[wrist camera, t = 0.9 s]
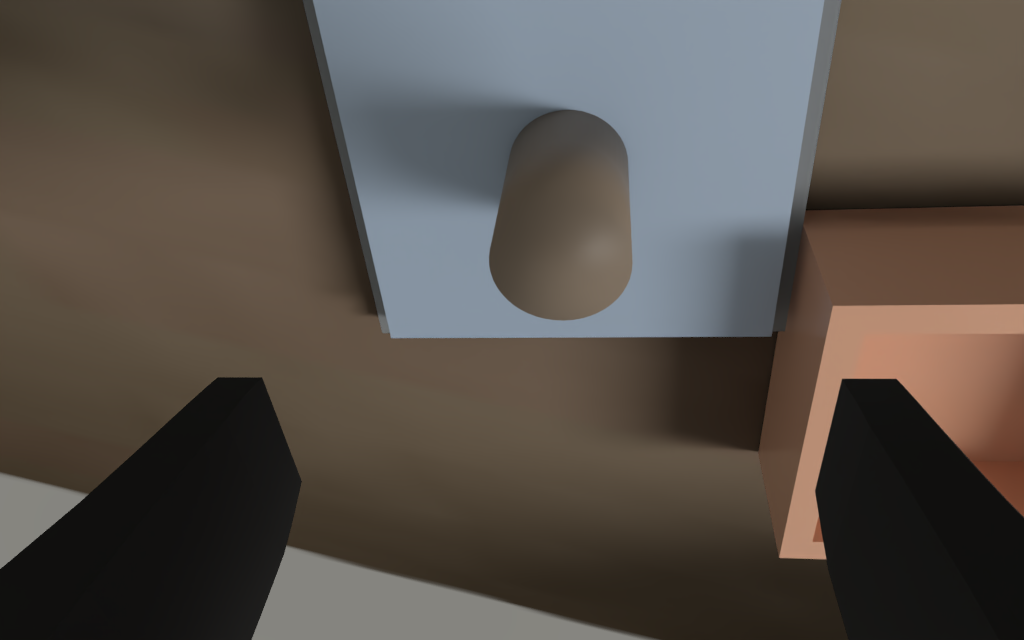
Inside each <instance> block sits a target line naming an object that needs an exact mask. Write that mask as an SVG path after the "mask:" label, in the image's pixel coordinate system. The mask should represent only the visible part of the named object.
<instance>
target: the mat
mask: <svg viewBox="0 0 1024 640" xmlns="http://www.w3.org/2000/svg"><path fill="white" fill-rule="evenodd" d="M303 4H304V8H305V12H306V17H307V21H308V25H309V29H310V33H311V37H312V42H313V46H314V50H315V54H316V58H317V62H318V67H319V71H320V75H321V79H322V83H323V87H324V92H325V96H326V100H327V104H328V108H329V112H330V117H331V121H332V125H333V129H334V133H335V137H336V142H337V146H338V150H339V154H340V158H341V162H342V167H343V171H344V175H345V179H346V183H347V187H348V192H349V196H350V200H351V204H352V208H353V212H354V217H355V221H356V225H357V229H358V233H359V238H360V242H361V246H362V250H363V254H364V258H365V263H366V267H367V271H368V275H369V279H370V283H371V288H372V292H373V296H374V300H375V304H376V308H377V313H378V317H379V321H380V325H381V329H382V333H390V331H389V326H388V322H387V318H386V313H385V309H384V305H383V300H382V296H381V292H380V288H379V283H378V279H377V275H376V270H375V266H374V262H373V257H372V253H371V249H370V244H369V240H368V236H367V232H366V227H365V223H364V219H363V214H362V210H361V206H360V201H359V197H358V193H357V188H356V184H355V180H354V176H353V171H352V167H351V163H350V158H349V154H348V150H347V145H346V141H345V137H344V132H343V128H342V124H341V119H340V115H339V111H338V107H337V102H336V98H335V94H334V89H333V85H332V81H331V76H330V72H329V68H328V63H327V59H326V55H325V51H324V46H323V42H322V38H321V33H320V29H319V25H318V20H317V16H316V12H315V7H314V3H313V0H303ZM840 6H841V0H824V6H823V13H822V19H821V25H820V32H819V38H818V44H817V51H816V57H815V63H814V70H813V76H812V82H811V89H810V95H809V102H808V108H807V114H806V121H805V127H804V133H803V140H802V146H801V152H800V159H799V165H798V171H797V178H796V184H795V190H794V197H793V203H792V209H791V216H790V222H789V229H788V235H787V241H786V248H785V254H784V260H783V267H782V273H781V279H780V286H779V292H778V298H777V305H776V311H775V317H774V324H773V330H772V331H785V328H786V322H787V317H788V311H789V305H790V299H791V293H792V287H793V281H794V276H795V270H796V264H797V258H798V252H799V246H800V240H801V234H802V229H803V223H804V217H805V211H806V205H807V199H808V193H809V188H810V182H811V176H812V170H813V164H814V158H815V152H816V146H817V141H818V135H819V129H820V123H821V117H822V111H823V105H824V99H825V94H826V88H827V82H828V76H829V70H830V64H831V58H832V53H833V47H834V41H835V35H836V29H837V23H838V17H839V11H840Z"/></svg>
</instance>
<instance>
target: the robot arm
mask: <svg viewBox="0 0 1024 640" xmlns="http://www.w3.org/2000/svg"><path fill="white" fill-rule="evenodd" d="M301 482H302V481H301V478H300V476H299V473H298V471H297V468H296V465H295V463H294V460H293V457H292V455H291V452H290V450H289V447H288V444H287V442H286V439H285V437H284V434H283V431H282V429H281V426H280V423H279V421H278V418H277V416H276V413H275V410H274V408H273V405H272V402H271V400H270V397H269V395H268V392H267V389H266V387H265V384H264V381H263V379H262V378H217V379H216V380H214V381H213V382H212V383H211V384H210V385H209V386H207V387H206V388H205V389H204V390H203V391H202V392H200V393H199V394H198V395H197V396H196V397H195V398H194V399H193V400H192V401H190V402H189V403H188V404H187V405H186V406H185V407H184V408H183V409H182V410H181V411H180V412H178V413H177V414H176V415H175V416H174V417H173V418H172V419H171V420H170V421H169V422H168V423H167V424H165V425H164V426H163V427H162V428H161V429H160V430H159V431H158V432H157V433H156V434H155V435H154V436H152V437H151V438H150V439H149V440H148V441H147V442H146V443H145V444H144V445H143V446H142V447H141V448H139V449H138V450H137V451H136V452H135V453H134V454H133V455H132V456H131V457H130V458H128V459H127V460H126V461H125V462H124V463H123V464H122V465H121V466H120V467H119V468H117V469H116V470H115V471H114V472H113V473H112V474H111V475H110V476H109V477H107V478H106V479H105V480H104V481H103V482H102V483H101V484H100V485H99V486H98V487H96V488H95V489H94V490H93V491H92V492H91V493H90V494H89V495H88V496H86V497H85V498H84V499H83V500H82V501H81V502H80V503H79V504H77V505H76V506H75V507H74V508H73V509H71V510H70V511H69V512H68V513H67V514H65V515H64V516H63V517H62V518H61V519H60V520H58V521H57V522H56V523H55V524H54V525H52V526H51V527H50V528H49V529H48V530H46V531H45V532H44V533H43V534H42V535H40V536H39V537H38V538H37V539H36V540H35V541H33V542H32V543H31V544H30V545H29V546H28V547H26V548H25V549H24V550H23V551H21V552H20V553H19V554H18V555H17V556H16V557H14V558H13V559H12V560H11V561H10V562H8V563H7V564H6V565H5V566H4V567H2V568H1V569H0V640H251V639H252V637H253V634H254V632H255V629H256V626H257V624H258V621H259V619H260V616H261V613H262V611H263V608H264V606H265V603H266V600H267V598H268V595H269V593H270V590H271V587H272V585H273V582H274V579H275V577H276V574H277V571H278V568H279V566H280V563H281V560H282V558H283V555H284V552H285V548H286V544H287V540H288V537H289V533H290V529H291V525H292V521H293V517H294V512H295V508H296V504H297V499H298V495H299V491H300V486H301ZM815 495H816V501H817V507H818V513H819V519H820V526H821V532H822V538H823V543H824V549H825V554H826V560H827V565H828V570H829V574H830V577H831V581H832V584H833V588H834V591H835V595H836V598H837V601H838V605H839V608H840V612H841V615H842V618H843V622H844V625H845V629H846V632H847V635H848V639H849V640H1024V517H1023V516H1022V515H1021V514H1020V513H1019V511H1018V510H1017V509H1016V508H1015V507H1014V506H1013V505H1012V504H1011V503H1010V502H1009V501H1008V500H1007V499H1006V498H1005V497H1004V496H1003V495H1002V494H1001V493H1000V492H999V491H998V490H997V489H996V488H995V486H994V485H993V484H992V483H991V482H990V481H989V480H988V479H987V478H986V477H985V476H984V475H983V474H982V473H981V471H980V470H979V469H978V468H977V467H976V466H975V465H974V464H973V463H972V462H971V460H970V459H969V458H968V457H967V456H966V455H965V454H964V453H963V452H962V451H961V449H960V448H959V447H958V446H957V445H956V444H955V443H954V442H953V441H952V440H951V438H950V437H949V436H948V435H947V434H946V433H945V432H944V431H943V429H942V428H941V427H940V426H939V425H938V424H937V423H936V422H935V421H934V419H933V418H932V417H931V416H930V415H929V414H928V413H927V412H926V410H925V409H924V408H923V407H922V406H921V405H920V404H919V403H918V401H917V400H916V399H915V398H914V397H913V396H912V395H911V394H910V393H909V391H908V390H907V389H906V388H905V387H904V386H903V385H902V384H901V383H900V382H899V381H898V380H897V379H842V381H841V385H840V389H839V393H838V398H837V402H836V406H835V410H834V414H833V418H832V422H831V427H830V431H829V435H828V439H827V443H826V447H825V451H824V456H823V460H822V464H821V468H820V472H819V476H818V480H817V485H816V489H815Z"/></svg>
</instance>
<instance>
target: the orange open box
mask: <svg viewBox="0 0 1024 640" xmlns="http://www.w3.org/2000/svg"><path fill="white" fill-rule="evenodd" d="M842 379H897V380H898V381H899V382H900V383H901V384H902V385H903V386H904V387H905V388H906V389H907V390H908V391H909V393H910V394H911V395H912V396H913V397H914V398H915V399H916V400H917V401H918V403H919V404H920V405H921V406H922V407H923V408H924V409H925V410H926V412H927V413H928V414H929V415H930V416H931V417H932V418H933V419H934V421H935V422H936V423H937V424H938V425H939V426H940V427H941V428H942V429H943V431H944V432H945V433H946V434H947V435H948V436H949V437H950V438H951V440H952V441H953V442H954V443H955V444H956V445H957V446H958V447H959V448H960V449H961V451H962V452H963V453H964V454H965V455H966V456H967V457H968V458H969V459H970V460H971V462H972V463H973V464H974V465H975V466H976V467H977V468H978V469H979V470H980V471H981V473H982V474H983V475H984V476H985V477H986V478H987V479H988V480H989V481H990V482H991V483H992V484H993V485H994V486H995V488H996V489H997V490H998V491H999V492H1000V493H1001V494H1002V495H1003V496H1004V497H1005V498H1006V499H1007V500H1008V501H1009V502H1010V503H1011V504H1012V505H1013V506H1014V507H1015V508H1016V509H1017V510H1018V511H1019V513H1020V514H1021V515H1022V516H1023V517H1024V205H1020V206H977V207H933V208H889V209H846V210H806V211H805V217H804V223H803V229H802V234H801V240H800V246H799V252H798V258H797V264H796V270H795V276H794V281H793V287H792V293H791V299H790V305H789V311H788V317H787V322H786V328H785V331H778V336H777V342H776V348H775V354H774V360H773V366H772V372H771V378H770V385H769V391H768V397H767V403H766V409H765V415H764V421H763V427H762V434H761V440H760V446H759V452H758V454H759V459H760V464H761V469H762V474H763V479H764V484H765V489H766V494H767V499H768V504H769V510H770V515H771V520H772V525H773V530H774V535H775V540H776V545H777V550H778V555H779V558H799V559H826V554H825V549H824V543H823V538H822V532H821V526H820V519H819V513H818V507H817V501H816V495H815V489H816V485H817V480H818V476H819V472H820V468H821V464H822V460H823V456H824V451H825V447H826V443H827V439H828V435H829V431H830V427H831V422H832V418H833V414H834V410H835V406H836V402H837V398H838V393H839V389H840V385H841V381H842Z"/></svg>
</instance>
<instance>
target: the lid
mask: <svg viewBox="0 0 1024 640" xmlns="http://www.w3.org/2000/svg"><path fill="white" fill-rule="evenodd" d="M313 3H314V7H315V12H316V16H317V20H318V25H319V29H320V33H321V38H322V42H323V46H324V51H325V55H326V59H327V63H328V68H329V72H330V76H331V81H332V85H333V89H334V94H335V98H336V102H337V107H338V111H339V115H340V119H341V124H342V128H343V132H344V137H345V141H346V145H347V150H348V154H349V158H350V163H351V167H352V171H353V176H354V180H355V184H356V188H357V193H358V197H359V201H360V206H361V210H362V214H363V219H364V223H365V227H366V232H367V236H368V240H369V244H370V249H371V253H372V257H373V262H374V266H375V270H376V275H377V279H378V283H379V288H380V292H381V296H382V300H383V305H384V309H385V313H386V318H387V322H388V326H389V331H390V335H391V338H541V337H771V336H772V330H773V324H774V317H775V311H776V305H777V298H778V292H779V286H780V279H781V273H782V267H783V260H784V254H785V248H786V241H787V235H788V229H789V222H790V216H791V209H792V203H793V197H794V190H795V184H796V178H797V171H798V165H799V159H800V152H801V146H802V140H803V133H804V127H805V121H806V114H807V108H808V102H809V95H810V89H811V82H812V76H813V70H814V63H815V57H816V51H817V44H818V38H819V32H820V25H821V19H822V13H823V6H824V0H313Z"/></svg>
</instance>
